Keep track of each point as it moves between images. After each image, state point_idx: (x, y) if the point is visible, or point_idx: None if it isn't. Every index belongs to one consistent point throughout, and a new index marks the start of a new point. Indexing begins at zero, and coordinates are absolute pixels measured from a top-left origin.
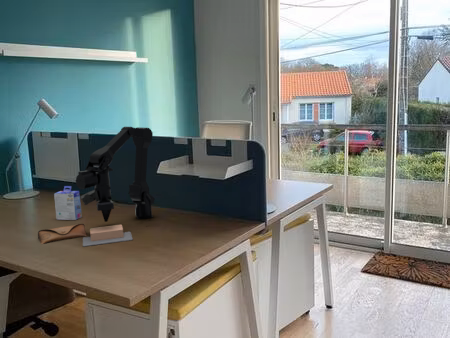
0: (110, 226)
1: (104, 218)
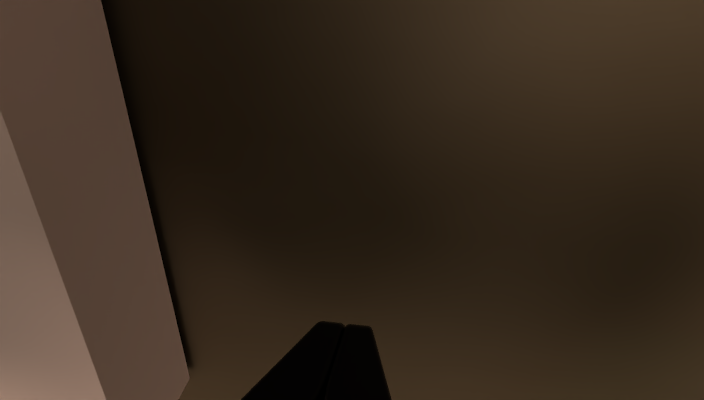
0: (43, 339)
1: (257, 395)
